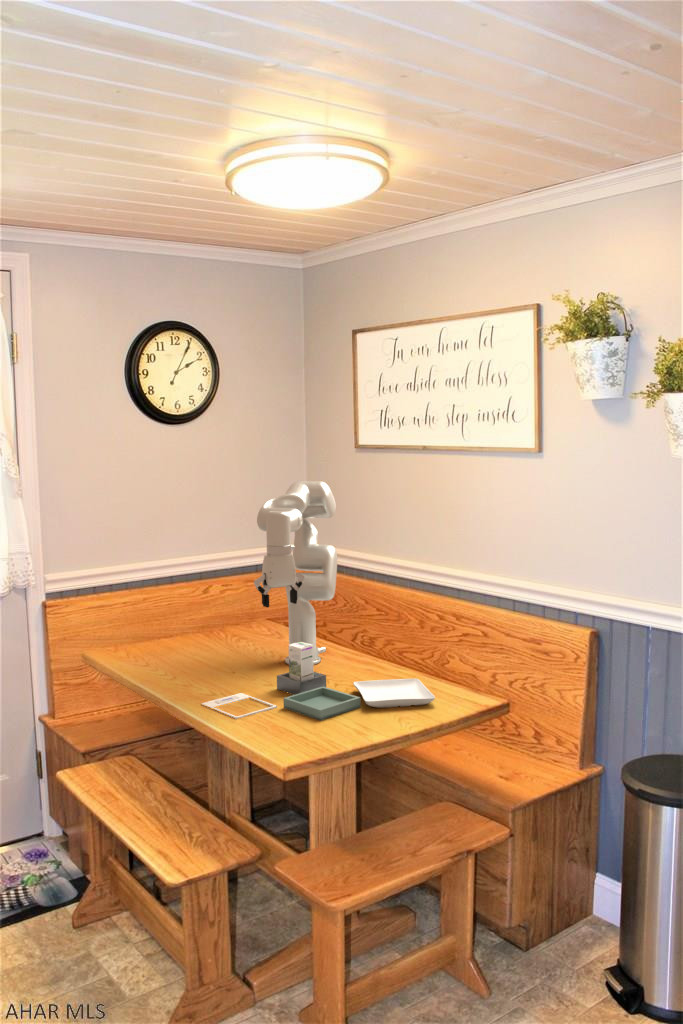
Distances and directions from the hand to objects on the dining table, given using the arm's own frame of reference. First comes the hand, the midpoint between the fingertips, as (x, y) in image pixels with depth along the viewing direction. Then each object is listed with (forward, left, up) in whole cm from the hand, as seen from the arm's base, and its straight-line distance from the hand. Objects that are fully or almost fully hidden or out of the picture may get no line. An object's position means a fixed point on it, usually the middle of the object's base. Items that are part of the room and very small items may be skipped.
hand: (279, 604), depth 267 cm
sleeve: (-4, +5, -27) cm, 28 cm away
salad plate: (-17, +32, -28) cm, 45 cm away
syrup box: (-4, +5, -27) cm, 28 cm away
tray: (+4, +23, -27) cm, 35 cm away
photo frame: (+20, +4, -28) cm, 34 cm away
